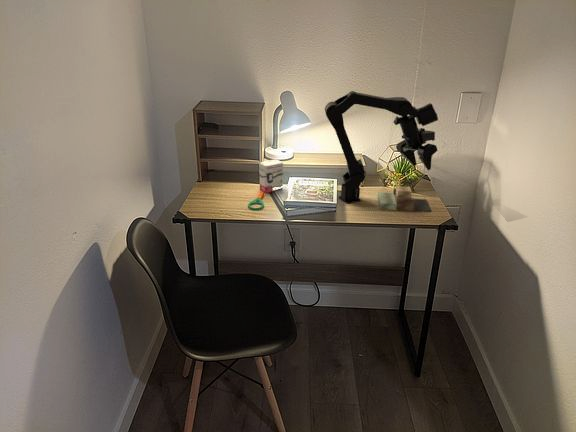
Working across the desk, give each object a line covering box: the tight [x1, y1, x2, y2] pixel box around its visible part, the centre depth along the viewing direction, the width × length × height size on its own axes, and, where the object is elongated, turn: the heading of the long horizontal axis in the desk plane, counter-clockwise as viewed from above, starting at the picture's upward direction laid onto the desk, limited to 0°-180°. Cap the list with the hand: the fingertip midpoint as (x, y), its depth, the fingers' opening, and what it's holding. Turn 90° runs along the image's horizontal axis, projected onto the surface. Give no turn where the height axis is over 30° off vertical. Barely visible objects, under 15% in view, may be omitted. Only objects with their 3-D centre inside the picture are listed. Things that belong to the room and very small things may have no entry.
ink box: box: [258, 158, 284, 194], centre depth 200 cm, size 8×5×12 cm, turn 123°
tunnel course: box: [376, 187, 432, 213], centre depth 189 cm, size 19×11×4 cm, turn 86°
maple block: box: [395, 185, 413, 199], centre depth 188 cm, size 5×5×4 cm
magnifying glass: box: [247, 191, 265, 211], centre depth 190 cm, size 15×6×2 cm, turn 172°
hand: (422, 167), depth 188 cm, fingers open, 9 cm apart
